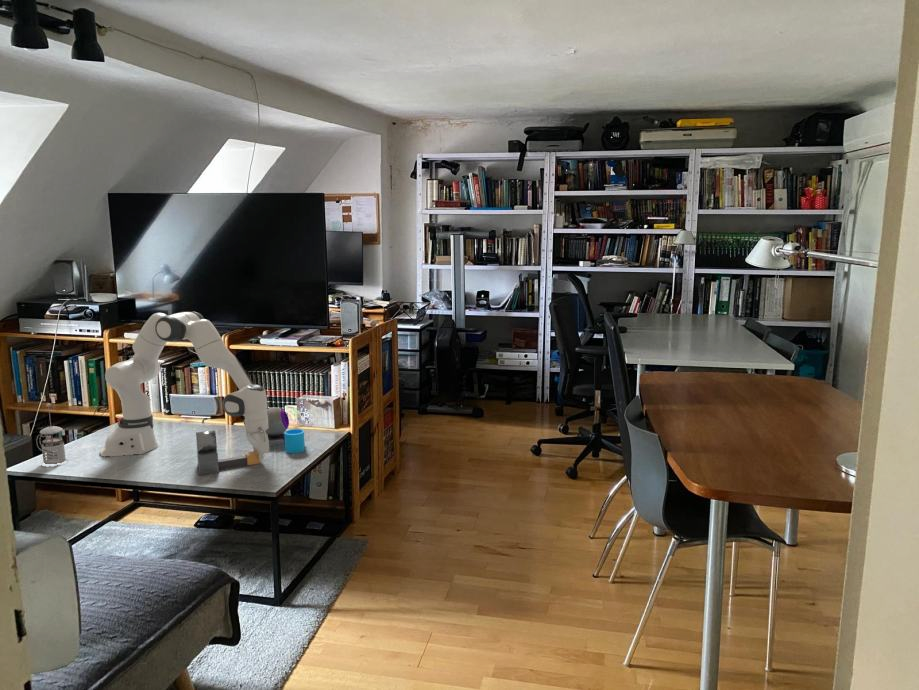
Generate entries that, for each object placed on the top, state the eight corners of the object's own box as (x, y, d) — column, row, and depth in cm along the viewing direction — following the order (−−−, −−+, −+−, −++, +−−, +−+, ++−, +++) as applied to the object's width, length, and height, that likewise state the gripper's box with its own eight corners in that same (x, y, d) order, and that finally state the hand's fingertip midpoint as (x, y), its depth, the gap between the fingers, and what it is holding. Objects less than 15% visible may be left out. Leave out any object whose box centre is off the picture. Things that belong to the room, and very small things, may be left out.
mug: (299, 454, 288) (298, 435, 287) (281, 452, 290) (280, 434, 289) (311, 445, 300) (311, 427, 298) (294, 443, 301) (293, 425, 300)
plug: (219, 469, 270) (218, 460, 269) (217, 466, 273) (216, 457, 273) (260, 463, 277) (259, 453, 277) (258, 460, 281) (257, 450, 280)
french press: (56, 468, 273) (49, 407, 268) (31, 466, 275) (23, 405, 270) (74, 459, 282) (68, 400, 278) (49, 458, 284) (43, 399, 280)
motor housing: (199, 475, 264) (196, 437, 261) (198, 463, 277) (195, 427, 274) (218, 472, 267) (216, 435, 264) (216, 461, 279) (213, 425, 277)
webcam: (286, 444, 301) (284, 411, 298) (256, 445, 300) (254, 411, 297) (292, 435, 313) (290, 403, 311) (263, 436, 313) (261, 404, 310)
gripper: (272, 430, 269) (274, 463, 272) (257, 417, 286) (259, 449, 289) (256, 432, 266) (258, 466, 268) (242, 420, 283) (244, 452, 286)
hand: (258, 457), depth 279 cm, fingers closed on plug, 4 cm apart
